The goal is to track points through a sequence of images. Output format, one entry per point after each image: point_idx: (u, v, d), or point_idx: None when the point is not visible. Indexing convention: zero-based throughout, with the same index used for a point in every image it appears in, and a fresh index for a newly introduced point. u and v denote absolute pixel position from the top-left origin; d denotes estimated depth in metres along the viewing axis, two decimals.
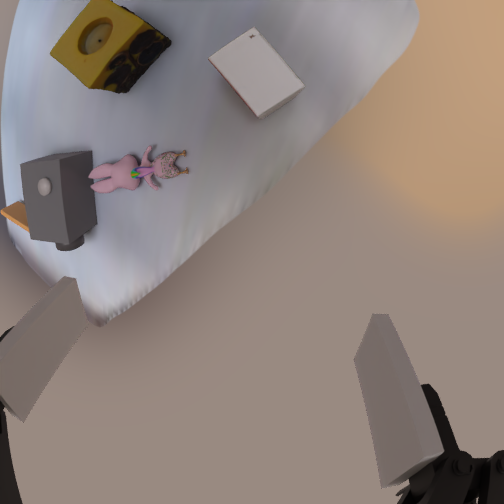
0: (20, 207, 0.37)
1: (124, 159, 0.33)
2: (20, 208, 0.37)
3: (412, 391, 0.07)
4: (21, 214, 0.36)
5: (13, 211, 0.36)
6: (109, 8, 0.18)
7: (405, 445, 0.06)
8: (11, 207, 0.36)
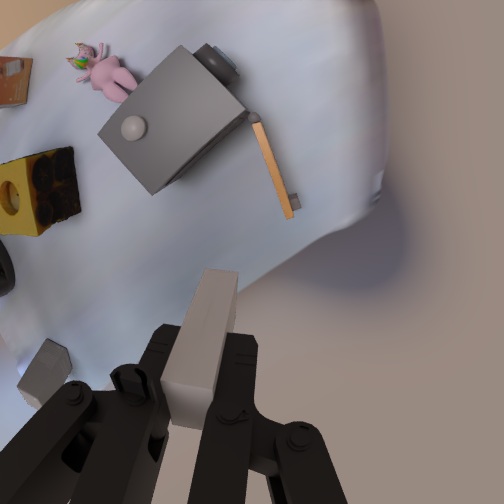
0: None
1: (93, 86, 0.26)
2: None
3: (212, 330, 0.09)
4: None
5: None
6: None
7: None
8: None
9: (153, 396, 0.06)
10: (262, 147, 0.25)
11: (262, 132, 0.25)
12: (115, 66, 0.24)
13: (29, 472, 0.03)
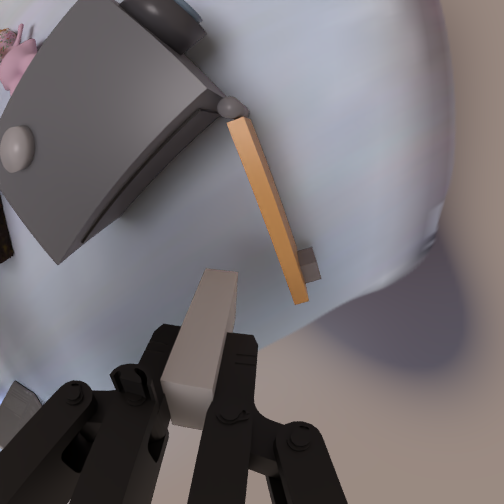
0: None
1: (3, 85, 0.13)
2: None
3: (212, 330, 0.09)
4: None
5: None
6: None
7: None
8: None
9: (153, 396, 0.06)
10: (249, 170, 0.12)
11: (249, 139, 0.12)
12: (26, 53, 0.11)
13: (29, 472, 0.03)
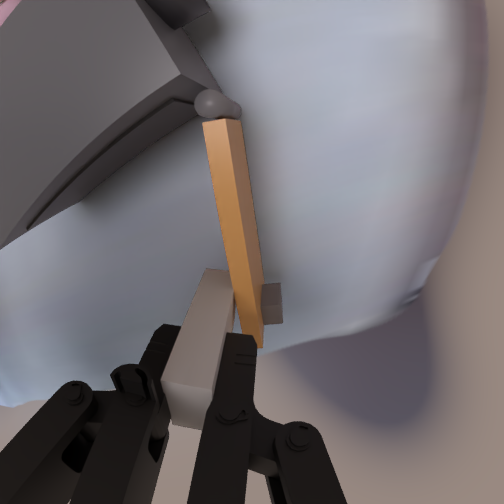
0: None
1: None
2: None
3: (212, 330, 0.09)
4: None
5: None
6: None
7: None
8: None
9: (153, 396, 0.06)
10: (218, 188, 0.10)
11: (226, 148, 0.09)
12: None
13: (29, 472, 0.03)
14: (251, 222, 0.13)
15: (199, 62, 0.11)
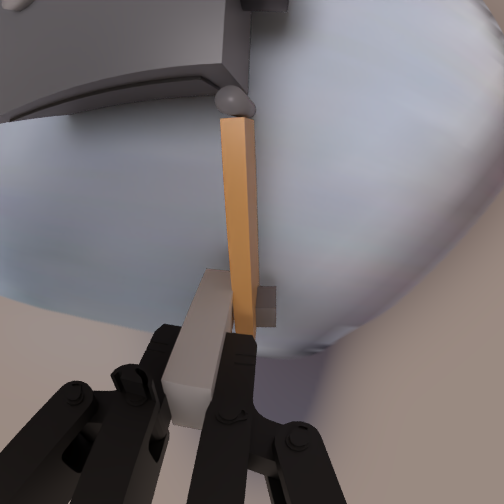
0: None
1: None
2: None
3: (211, 330, 0.09)
4: None
5: None
6: None
7: None
8: None
9: (154, 396, 0.06)
10: (228, 187, 0.10)
11: (241, 147, 0.09)
12: None
13: (30, 472, 0.03)
14: (254, 223, 0.13)
15: (245, 51, 0.10)
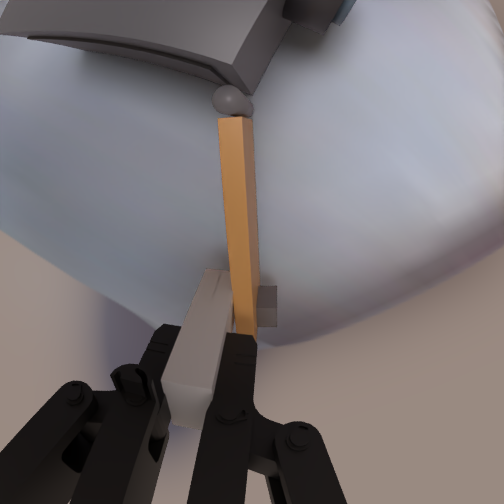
0: None
1: None
2: None
3: (211, 330, 0.09)
4: None
5: None
6: None
7: None
8: None
9: (154, 396, 0.06)
10: (227, 187, 0.10)
11: (239, 147, 0.09)
12: None
13: (29, 472, 0.03)
14: (254, 223, 0.13)
15: (267, 55, 0.10)
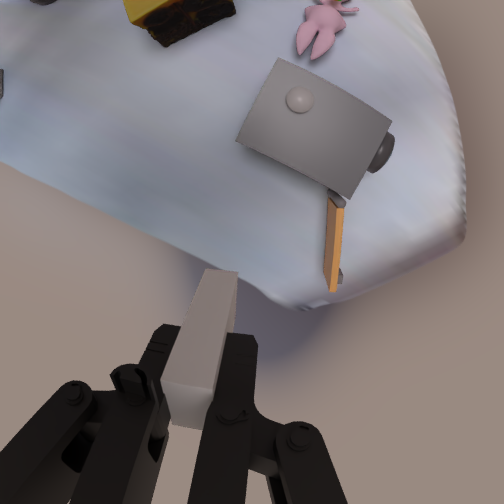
0: (326, 260, 0.34)
1: (309, 9, 0.22)
2: (327, 259, 0.34)
3: (212, 330, 0.09)
4: (330, 249, 0.32)
5: (329, 267, 0.32)
6: None
7: None
8: (327, 276, 0.33)
9: (153, 396, 0.06)
10: (336, 230, 0.29)
11: (342, 218, 0.28)
12: (335, 29, 0.22)
13: (29, 472, 0.03)
14: None
15: None
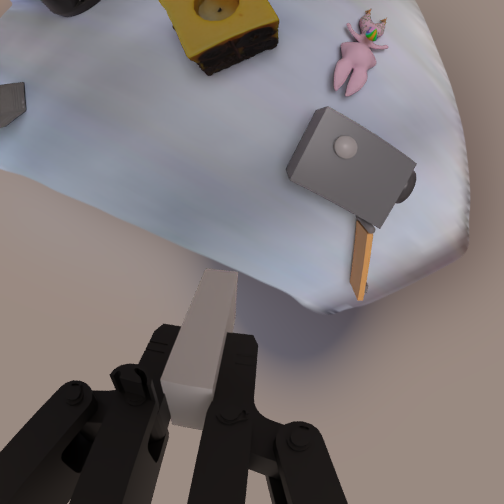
0: (353, 273, 0.39)
1: (346, 45, 0.26)
2: (354, 272, 0.39)
3: (212, 330, 0.09)
4: (358, 264, 0.37)
5: (357, 280, 0.37)
6: None
7: None
8: (355, 286, 0.38)
9: (153, 396, 0.06)
10: (366, 251, 0.34)
11: (371, 241, 0.33)
12: (367, 68, 0.27)
13: (29, 472, 0.03)
14: None
15: None
